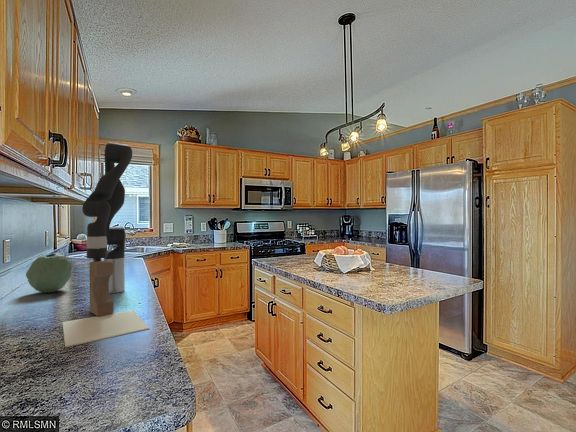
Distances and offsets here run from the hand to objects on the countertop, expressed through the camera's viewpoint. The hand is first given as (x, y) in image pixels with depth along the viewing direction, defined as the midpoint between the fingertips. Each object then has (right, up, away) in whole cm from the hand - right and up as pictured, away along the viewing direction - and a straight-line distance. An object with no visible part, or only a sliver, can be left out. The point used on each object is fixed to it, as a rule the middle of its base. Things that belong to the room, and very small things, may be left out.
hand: (97, 287), depth 131 cm
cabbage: (-40, -9, +25) cm, 48 cm away
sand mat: (+18, -8, -25) cm, 32 cm away
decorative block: (+8, -8, -11) cm, 16 cm away
